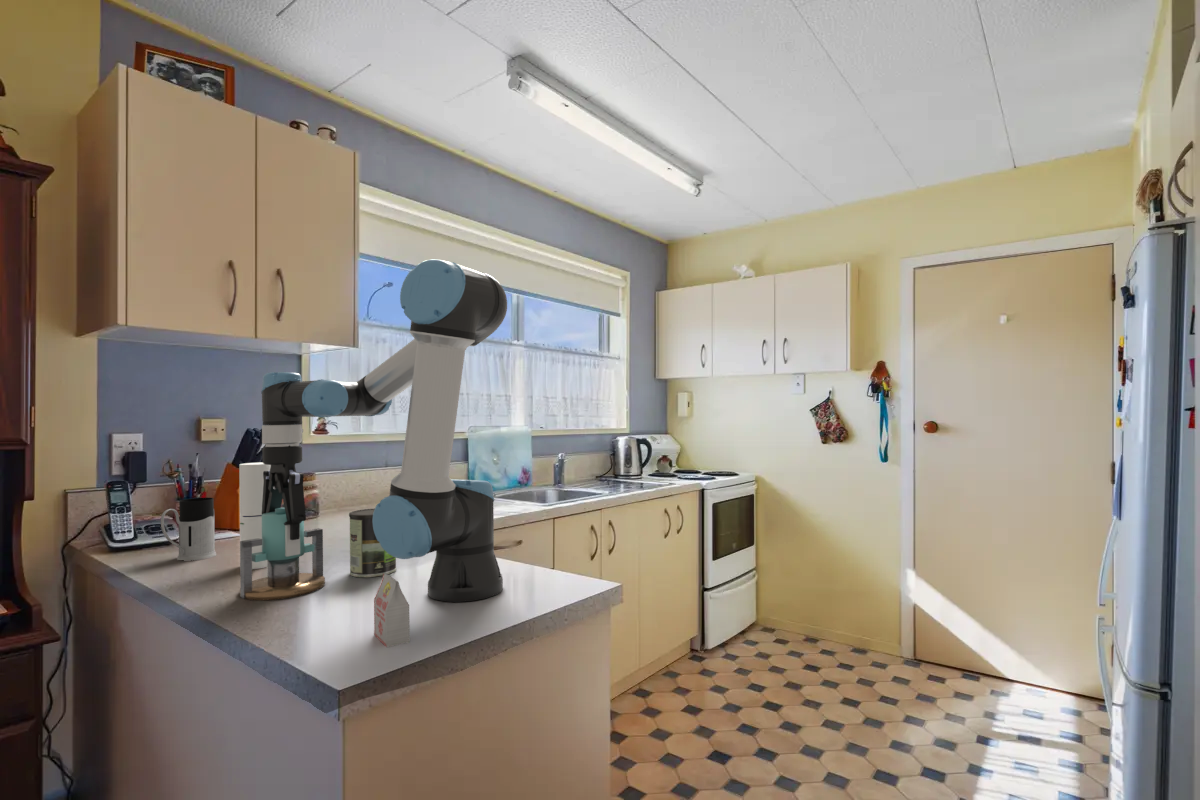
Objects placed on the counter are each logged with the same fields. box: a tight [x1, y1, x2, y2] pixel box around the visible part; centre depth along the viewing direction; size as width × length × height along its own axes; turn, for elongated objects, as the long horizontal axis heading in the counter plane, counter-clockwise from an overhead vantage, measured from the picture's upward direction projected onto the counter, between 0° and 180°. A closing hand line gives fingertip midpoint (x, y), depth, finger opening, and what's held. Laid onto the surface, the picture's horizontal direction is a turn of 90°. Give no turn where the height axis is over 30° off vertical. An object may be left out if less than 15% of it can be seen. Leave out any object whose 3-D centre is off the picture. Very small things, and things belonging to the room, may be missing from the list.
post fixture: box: [239, 527, 326, 602], centre depth 130 cm, size 16×16×11 cm
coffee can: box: [348, 507, 397, 578], centre depth 143 cm, size 10×10×14 cm
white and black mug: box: [160, 497, 217, 562], centre depth 158 cm, size 9×14×15 cm, turn 166°
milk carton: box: [373, 574, 411, 648], centre depth 101 cm, size 4×7×10 cm, turn 36°
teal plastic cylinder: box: [252, 507, 314, 562], centre depth 130 cm, size 8×12×10 cm, turn 141°
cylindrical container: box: [238, 461, 271, 570], centre depth 151 cm, size 7×7×25 cm
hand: (283, 552), depth 130 cm, fingers closed on teal plastic cylinder, 8 cm apart
